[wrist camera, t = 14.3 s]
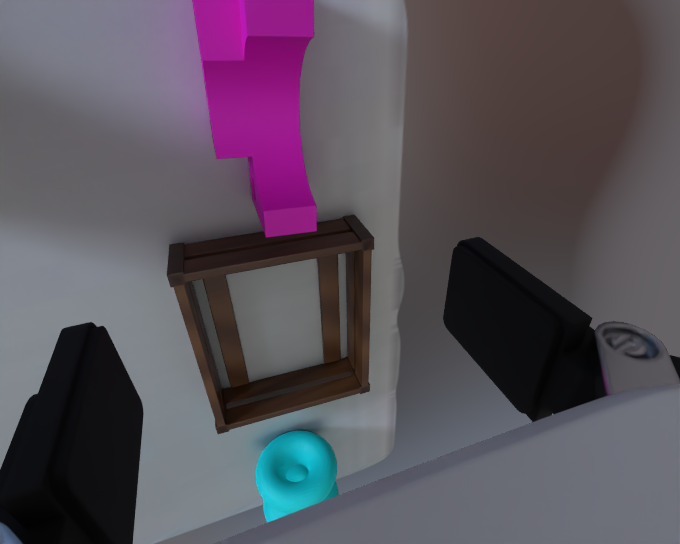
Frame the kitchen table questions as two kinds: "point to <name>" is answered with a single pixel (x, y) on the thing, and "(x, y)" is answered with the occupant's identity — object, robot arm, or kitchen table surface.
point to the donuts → (295, 473)
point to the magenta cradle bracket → (260, 100)
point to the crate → (242, 397)
